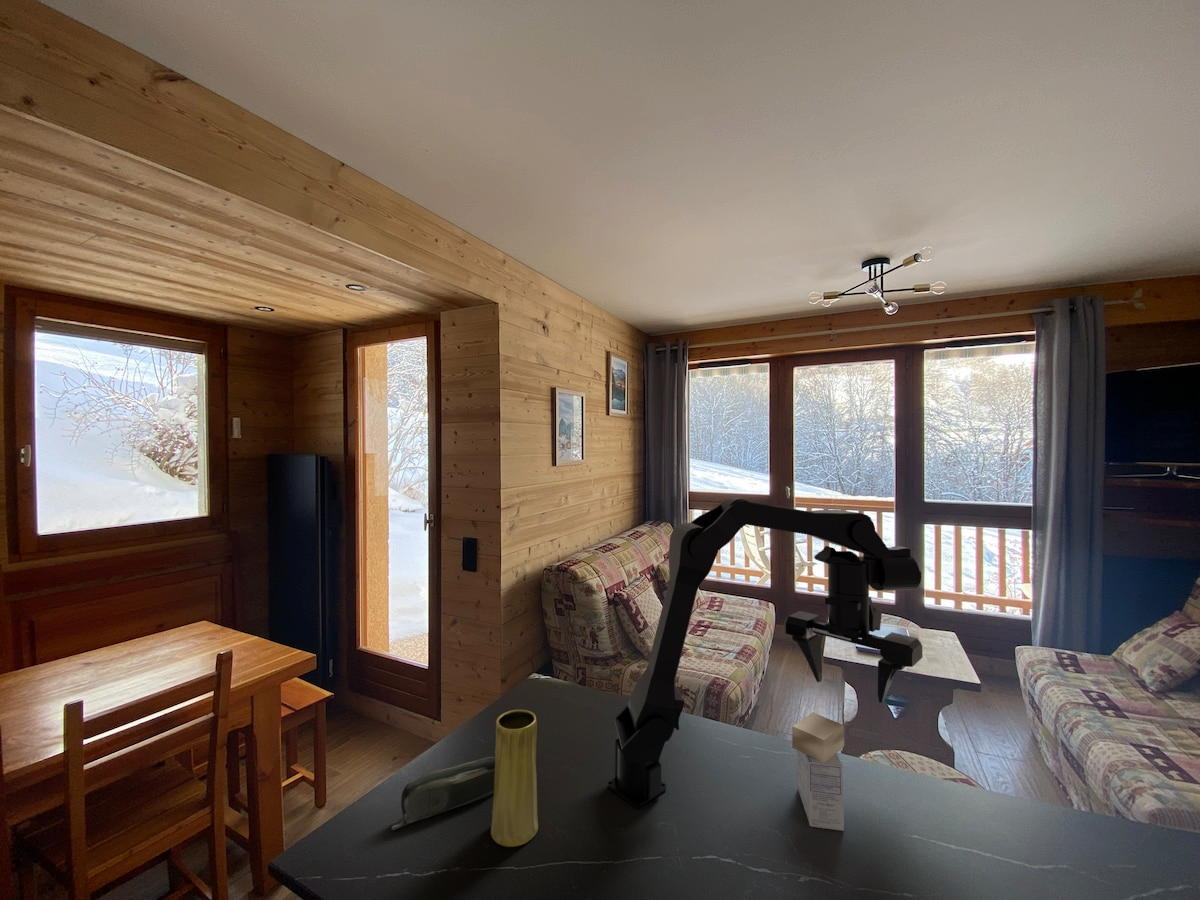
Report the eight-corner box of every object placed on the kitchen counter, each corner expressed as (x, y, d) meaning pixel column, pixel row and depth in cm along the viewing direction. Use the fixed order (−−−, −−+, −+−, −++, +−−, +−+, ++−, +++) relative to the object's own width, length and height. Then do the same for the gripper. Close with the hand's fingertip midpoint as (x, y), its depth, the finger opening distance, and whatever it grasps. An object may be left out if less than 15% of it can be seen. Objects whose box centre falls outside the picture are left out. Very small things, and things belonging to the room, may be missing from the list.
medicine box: (844, 833, 63) (844, 765, 63) (808, 827, 64) (808, 761, 64) (828, 793, 71) (828, 733, 71) (796, 789, 72) (796, 729, 72)
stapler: (495, 749, 73) (390, 782, 64) (503, 759, 71) (395, 795, 62) (494, 783, 73) (388, 821, 64) (502, 794, 70) (393, 835, 62)
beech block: (792, 747, 68) (792, 725, 68) (813, 732, 71) (812, 712, 71) (824, 763, 64) (824, 740, 64) (844, 746, 68) (844, 725, 68)
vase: (545, 819, 65) (547, 712, 65) (524, 854, 59) (526, 735, 60) (506, 808, 67) (507, 704, 67) (481, 840, 61) (483, 726, 62)
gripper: (932, 594, 74) (933, 696, 74) (811, 573, 88) (811, 659, 88) (910, 607, 67) (911, 721, 66) (782, 582, 81) (782, 677, 80)
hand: (848, 691), depth 75 cm, fingers open, 9 cm apart
